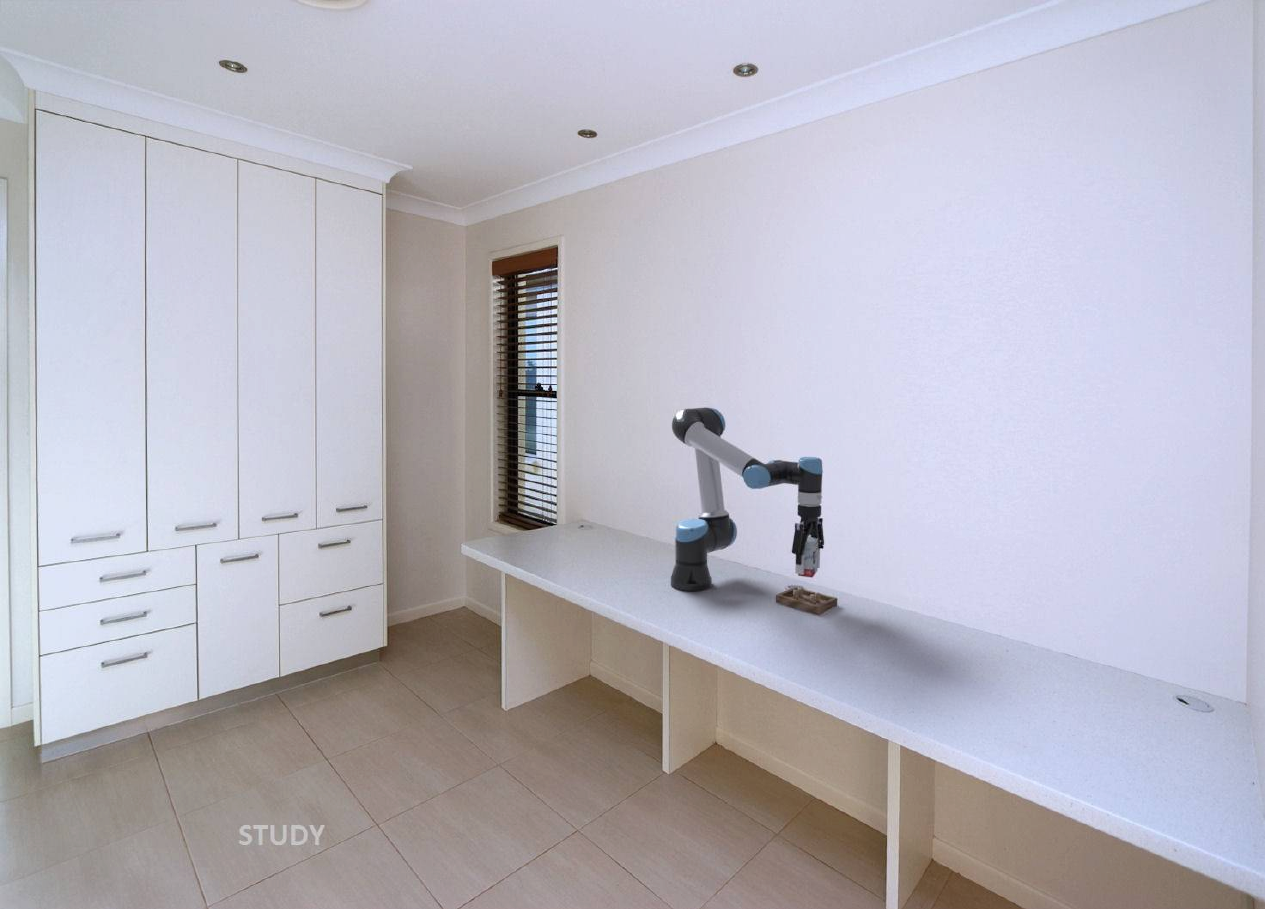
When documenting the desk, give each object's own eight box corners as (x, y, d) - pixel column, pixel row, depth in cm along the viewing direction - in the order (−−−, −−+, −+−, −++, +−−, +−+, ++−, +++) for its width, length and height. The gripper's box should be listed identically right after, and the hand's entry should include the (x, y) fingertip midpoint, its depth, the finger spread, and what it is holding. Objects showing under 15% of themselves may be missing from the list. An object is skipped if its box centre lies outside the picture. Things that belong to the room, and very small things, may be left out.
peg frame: (775, 602, 209) (776, 590, 209) (794, 593, 217) (795, 582, 217) (818, 615, 198) (819, 602, 197) (837, 605, 206) (837, 593, 206)
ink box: (812, 578, 201) (813, 542, 200) (797, 576, 204) (798, 541, 202) (818, 571, 209) (818, 536, 207) (803, 569, 211) (804, 535, 210)
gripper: (801, 511, 193) (800, 580, 196) (836, 501, 208) (834, 565, 211) (781, 507, 198) (779, 575, 201) (816, 498, 214) (814, 561, 216)
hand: (807, 570), depth 206 cm, fingers closed on ink box, 9 cm apart
